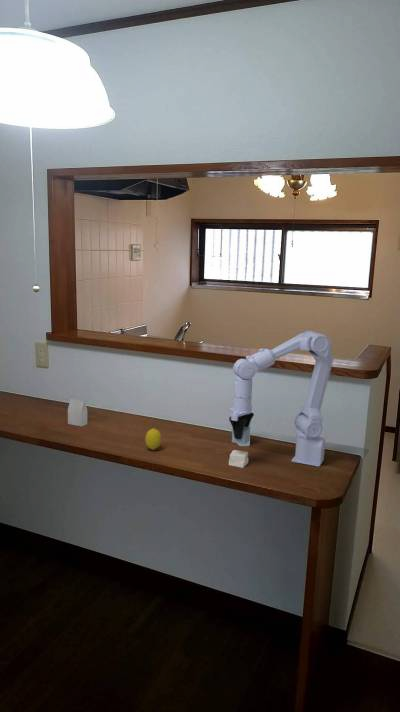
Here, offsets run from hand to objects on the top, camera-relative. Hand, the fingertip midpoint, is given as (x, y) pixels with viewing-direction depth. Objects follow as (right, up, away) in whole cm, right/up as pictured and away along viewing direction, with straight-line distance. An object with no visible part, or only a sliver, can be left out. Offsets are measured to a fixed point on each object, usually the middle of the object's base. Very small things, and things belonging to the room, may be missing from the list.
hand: (240, 436), depth 169 cm
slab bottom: (-1, -10, +2) cm, 10 cm away
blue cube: (0, -2, 0) cm, 2 cm away
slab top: (-1, -8, +1) cm, 8 cm away
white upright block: (-63, -1, +38) cm, 73 cm away
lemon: (-30, -7, +11) cm, 33 cm away
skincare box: (+2, -6, +21) cm, 22 cm away
